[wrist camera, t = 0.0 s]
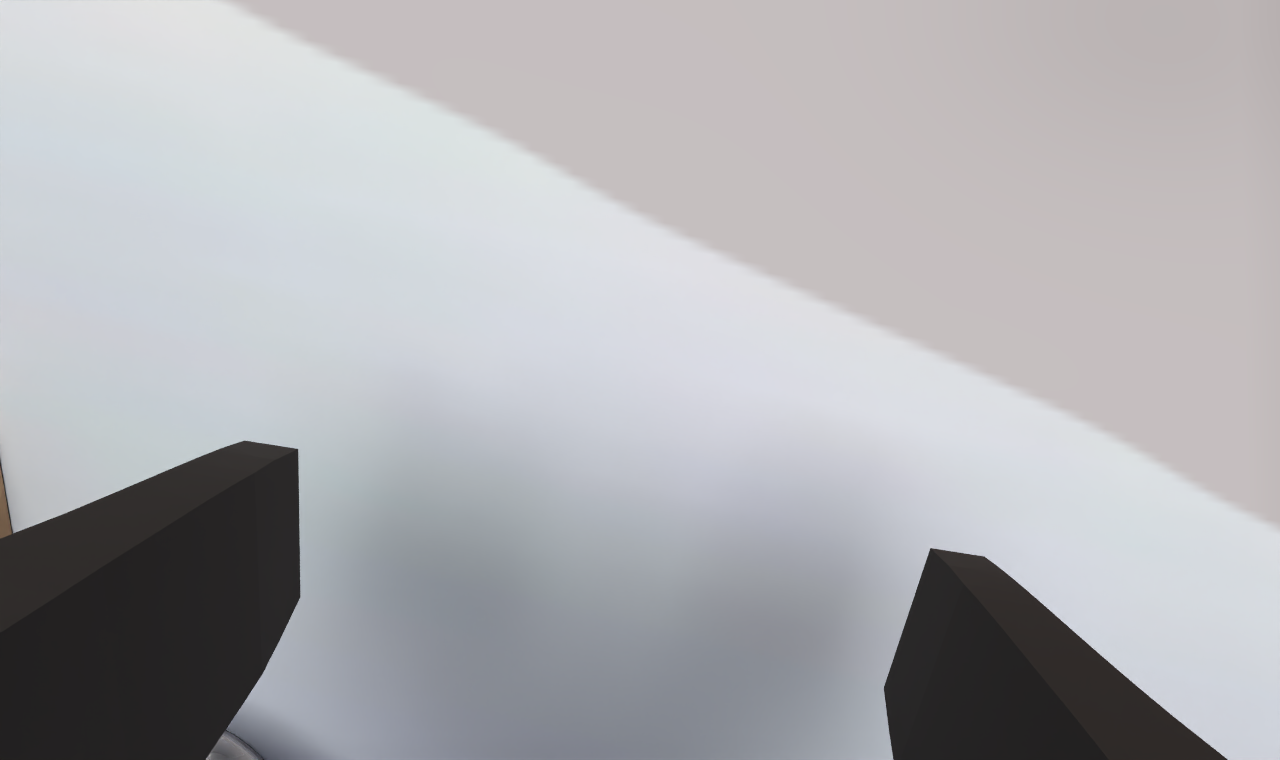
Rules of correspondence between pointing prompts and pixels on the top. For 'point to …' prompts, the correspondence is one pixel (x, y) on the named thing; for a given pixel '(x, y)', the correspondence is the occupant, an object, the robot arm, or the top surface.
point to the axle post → (232, 749)
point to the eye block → (4, 512)
